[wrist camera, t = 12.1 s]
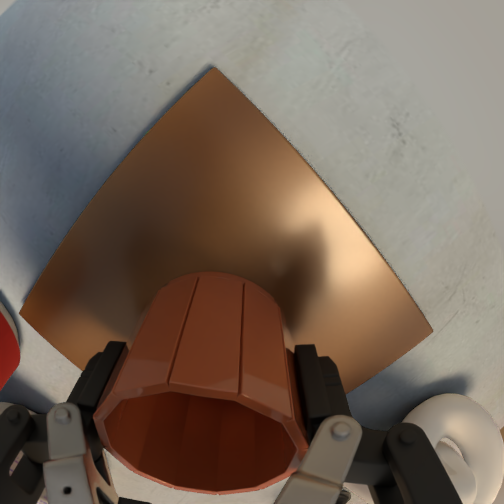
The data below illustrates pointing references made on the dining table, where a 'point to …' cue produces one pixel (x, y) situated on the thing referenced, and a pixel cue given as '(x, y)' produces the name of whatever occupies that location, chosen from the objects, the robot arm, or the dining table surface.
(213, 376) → the terracotta faceted tumbler
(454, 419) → the white decorative knot
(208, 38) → the dining table surface
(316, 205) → the plate
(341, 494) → the dark grey chess piece
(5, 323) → the beverage can
